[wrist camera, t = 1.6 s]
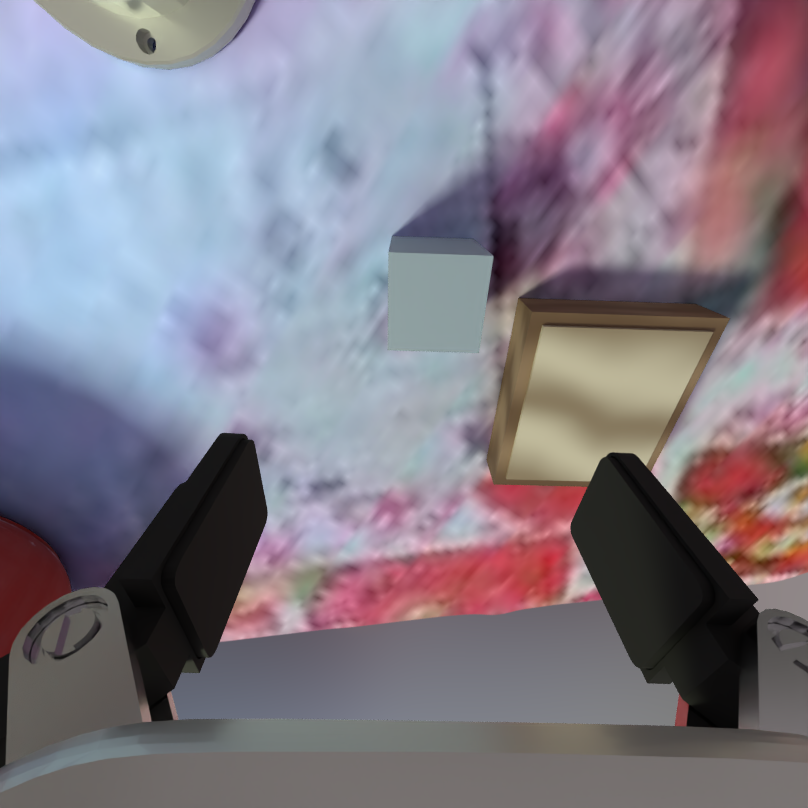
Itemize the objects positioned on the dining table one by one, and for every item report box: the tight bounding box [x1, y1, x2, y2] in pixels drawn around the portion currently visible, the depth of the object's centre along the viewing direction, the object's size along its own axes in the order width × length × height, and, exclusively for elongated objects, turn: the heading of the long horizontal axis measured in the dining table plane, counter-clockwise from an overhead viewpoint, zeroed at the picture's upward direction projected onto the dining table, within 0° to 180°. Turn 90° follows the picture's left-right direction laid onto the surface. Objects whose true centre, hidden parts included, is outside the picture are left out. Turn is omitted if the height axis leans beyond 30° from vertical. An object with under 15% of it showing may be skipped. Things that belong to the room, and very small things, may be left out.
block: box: [388, 236, 493, 353], centre depth 21 cm, size 5×5×6 cm
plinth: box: [487, 298, 730, 487], centre depth 27 cm, size 14×12×3 cm
